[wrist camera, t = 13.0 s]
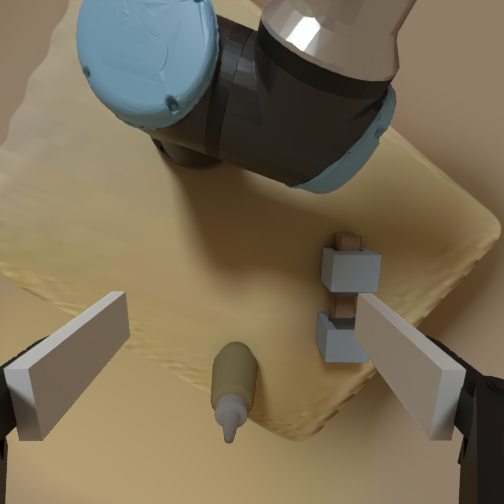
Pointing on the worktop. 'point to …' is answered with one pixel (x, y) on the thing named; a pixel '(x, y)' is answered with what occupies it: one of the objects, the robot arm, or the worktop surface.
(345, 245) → the rail
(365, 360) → the slider block
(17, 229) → the worktop surface
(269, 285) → the worktop surface
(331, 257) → the grey cube block
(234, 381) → the squeeze bottle
